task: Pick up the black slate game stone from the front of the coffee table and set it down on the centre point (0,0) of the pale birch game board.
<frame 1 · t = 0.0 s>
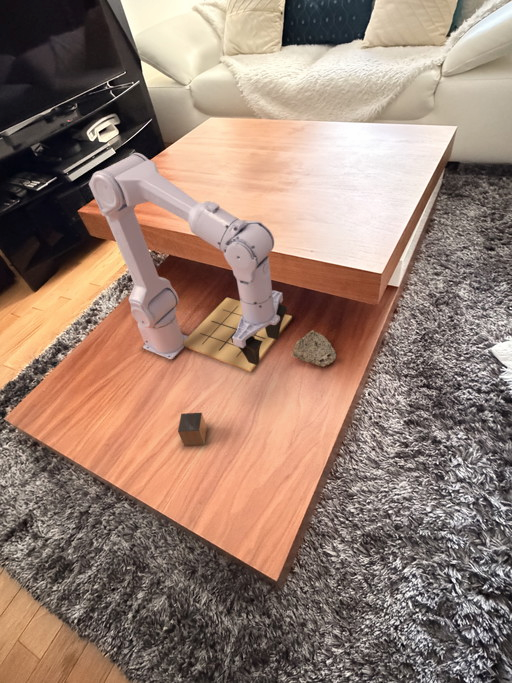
hand: (263, 349, 76), 10 cm above the table, tool pointing down, fingers open, 7 cm apart
rock sample: (317, 355, 88), on the table
game board: (237, 332, 96), on the table
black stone: (195, 436, 75), on the table
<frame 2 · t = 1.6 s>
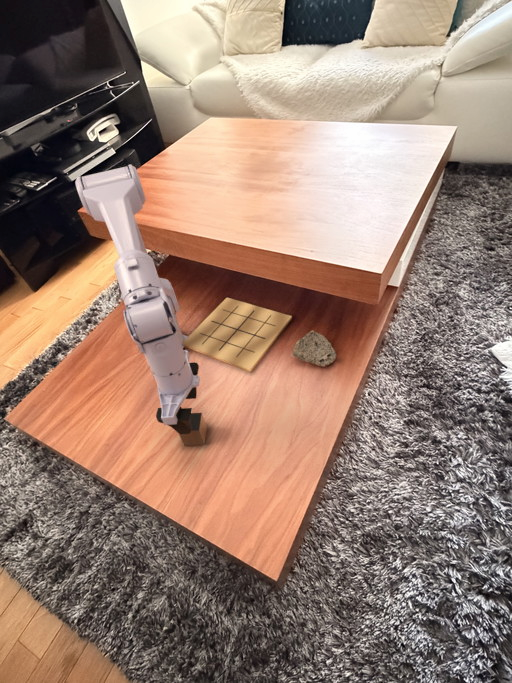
hand: (188, 414, 70), 7 cm above the table, tool pointing down, fingers open, 7 cm apart
nothing on the table moved.
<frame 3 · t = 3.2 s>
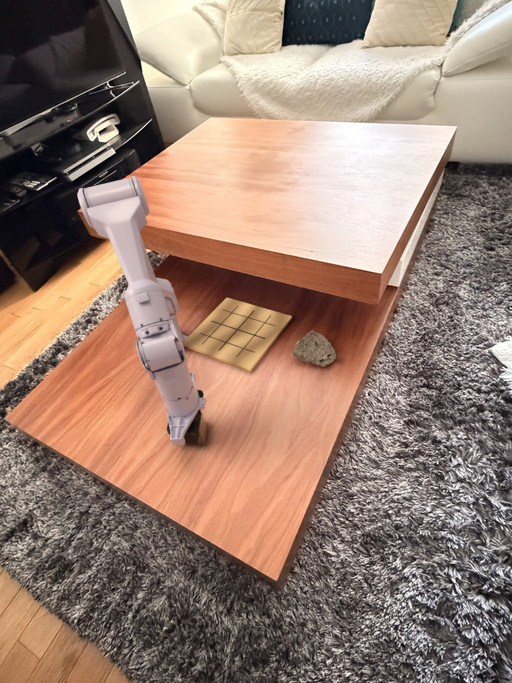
hand: (194, 432, 74), 1 cm above the table, tool pointing down, fingers closed on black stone, 4 cm apart
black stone: (195, 436, 75), on the table, touching gripper
everything else where it was.
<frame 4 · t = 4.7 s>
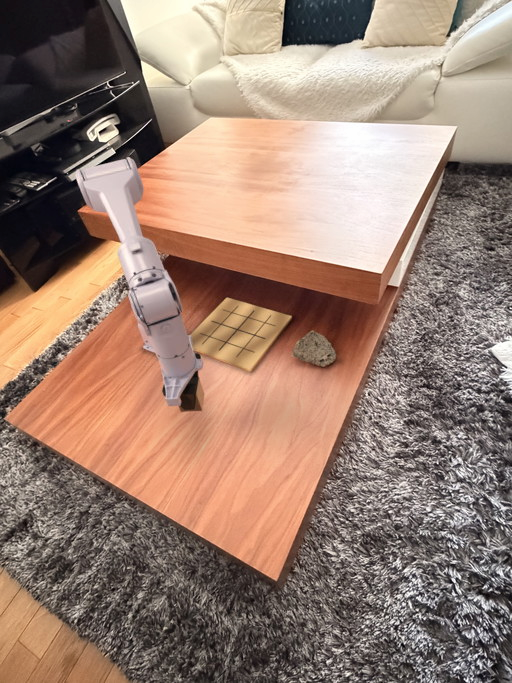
hand: (191, 398, 72), 8 cm above the table, tool pointing down, fingers closed on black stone, 4 cm apart
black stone: (192, 402, 73), point 7 cm above the table, touching gripper
everything else where it was.
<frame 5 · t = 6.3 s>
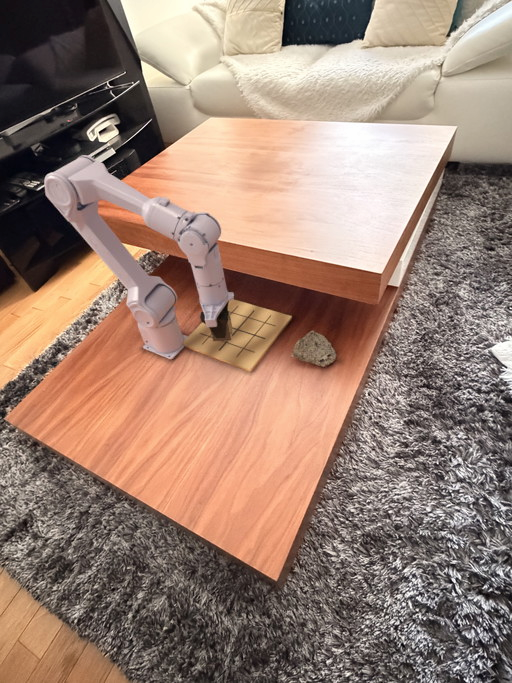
hand: (221, 330, 85), 8 cm above the table, tool pointing down, fingers closed on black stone, 4 cm apart
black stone: (223, 334, 86), point 7 cm above the table, touching gripper
everything else where it was.
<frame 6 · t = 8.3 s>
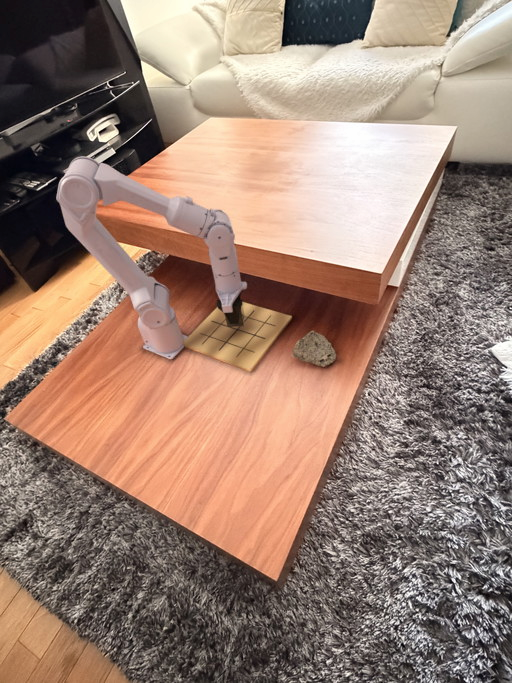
hand: (234, 317, 93), 5 cm above the table, tool pointing down, fingers closed on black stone, 4 cm apart
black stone: (236, 321, 94), point 4 cm above the table, touching gripper
everything else where it was.
when the fingers open (2 cm above the table, at t = 9.7 s): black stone stays where it is, resting on game board.
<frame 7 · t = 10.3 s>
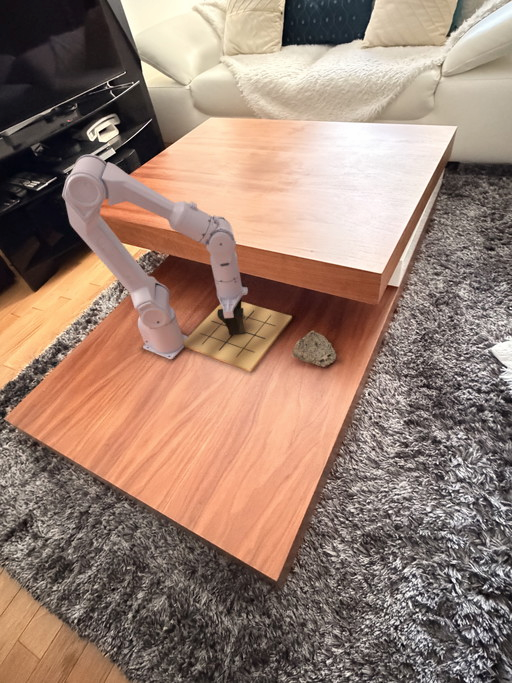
hand: (235, 321, 94), 3 cm above the table, tool pointing down, fingers open, 7 cm apart
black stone: (237, 329, 96), point 1 cm above the table, touching game board
everything else where it was.
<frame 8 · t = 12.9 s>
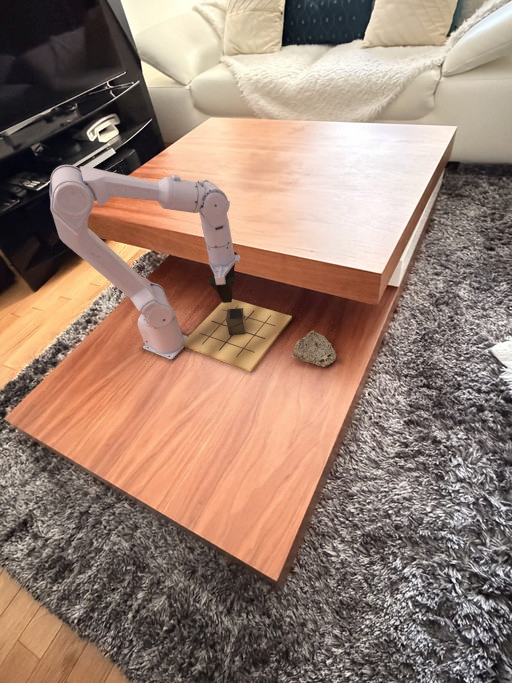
hand: (228, 292, 93), 9 cm above the table, tool pointing down, fingers open, 7 cm apart
nothing on the table moved.
at the end: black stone 0.1 cm off-centre on the game board, point 0.9 cm above the game board's base; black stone tilted 0°; the gripper is holding nothing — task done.
